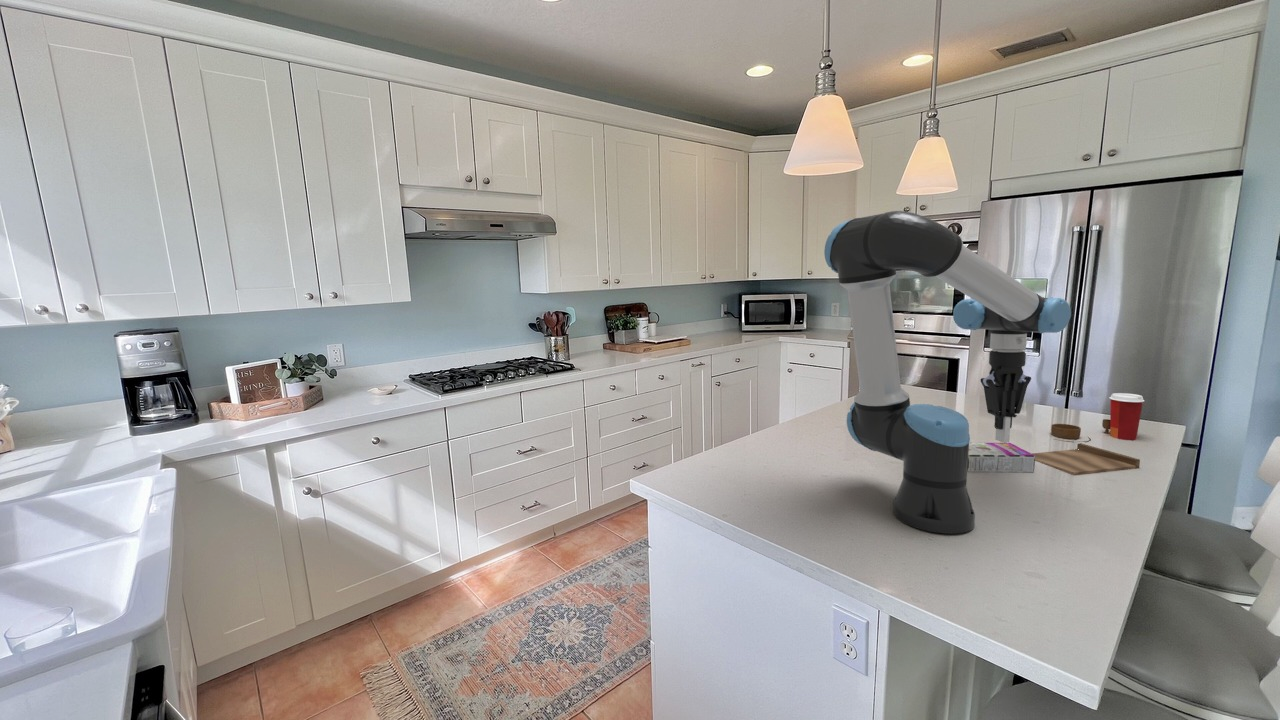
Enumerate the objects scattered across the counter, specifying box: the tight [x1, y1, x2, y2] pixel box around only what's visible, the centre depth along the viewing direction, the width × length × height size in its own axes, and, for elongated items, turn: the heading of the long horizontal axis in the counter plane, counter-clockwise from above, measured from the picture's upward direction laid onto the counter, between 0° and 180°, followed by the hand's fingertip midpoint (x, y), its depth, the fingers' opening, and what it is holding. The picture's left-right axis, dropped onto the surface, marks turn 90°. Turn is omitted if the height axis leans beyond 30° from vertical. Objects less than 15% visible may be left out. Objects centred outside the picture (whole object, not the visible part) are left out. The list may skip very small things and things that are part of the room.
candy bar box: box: [967, 442, 1036, 474], centre depth 138 cm, size 11×5×16 cm
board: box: [1031, 443, 1141, 476], centre depth 139 cm, size 20×15×2 cm
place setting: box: [1050, 418, 1110, 443], centre depth 157 cm, size 18×20×6 cm
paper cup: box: [1108, 392, 1145, 441], centre depth 156 cm, size 8×8×14 cm
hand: (1002, 440), depth 134 cm, fingers closed
